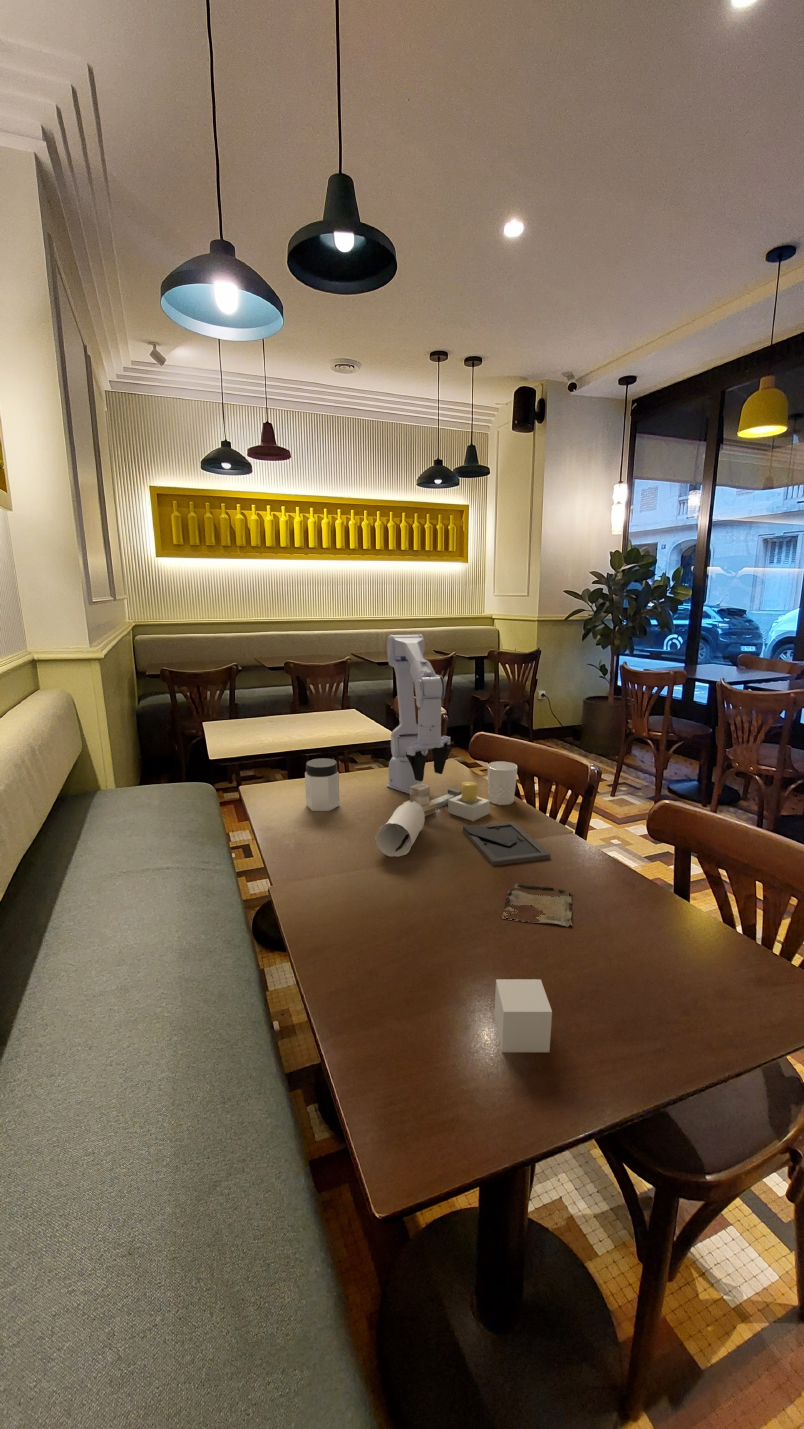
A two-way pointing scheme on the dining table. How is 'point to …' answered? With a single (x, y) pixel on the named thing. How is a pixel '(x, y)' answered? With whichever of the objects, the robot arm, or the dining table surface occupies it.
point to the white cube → (522, 1015)
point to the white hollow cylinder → (401, 829)
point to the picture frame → (505, 843)
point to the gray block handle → (446, 797)
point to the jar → (322, 784)
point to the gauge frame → (469, 808)
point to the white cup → (501, 782)
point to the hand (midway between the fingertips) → (428, 776)
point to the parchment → (542, 905)
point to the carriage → (422, 798)
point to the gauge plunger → (469, 791)
